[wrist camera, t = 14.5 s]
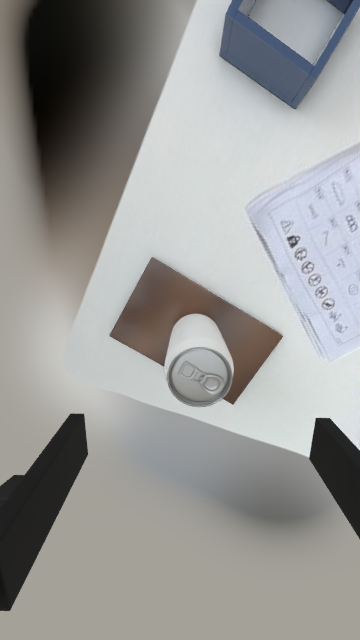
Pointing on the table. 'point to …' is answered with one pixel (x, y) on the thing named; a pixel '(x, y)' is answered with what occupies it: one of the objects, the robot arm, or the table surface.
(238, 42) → the holder
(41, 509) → the robot arm
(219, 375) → the can
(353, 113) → the table surface
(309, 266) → the table surface
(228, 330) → the board
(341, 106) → the table surface
